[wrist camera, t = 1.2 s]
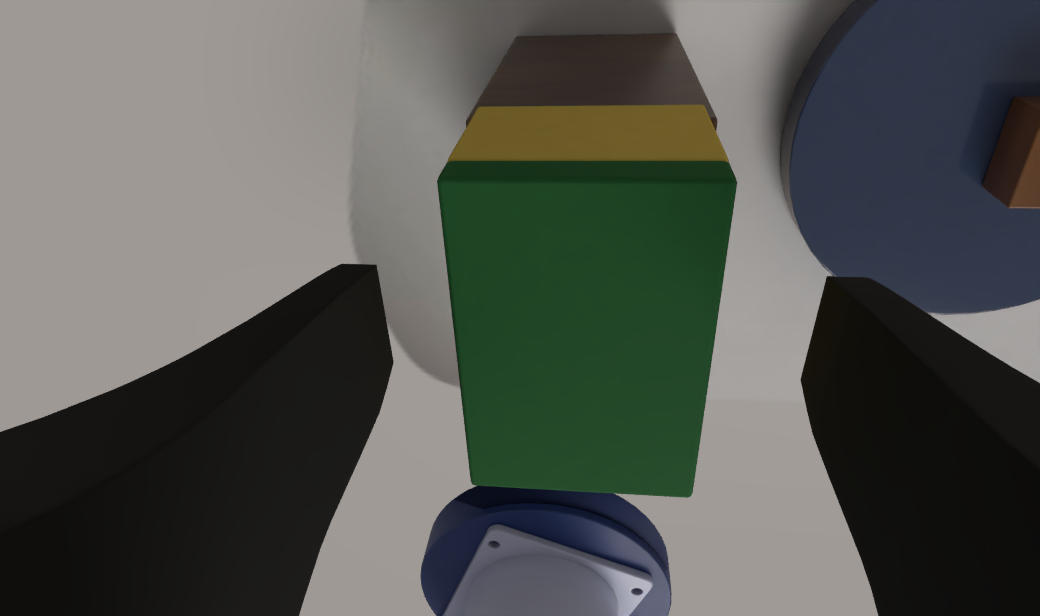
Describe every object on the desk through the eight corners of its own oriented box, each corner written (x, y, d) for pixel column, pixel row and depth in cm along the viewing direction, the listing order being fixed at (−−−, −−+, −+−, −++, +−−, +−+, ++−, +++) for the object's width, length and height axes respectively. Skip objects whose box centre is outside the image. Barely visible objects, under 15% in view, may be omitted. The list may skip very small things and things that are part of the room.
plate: (754, 291, 22) (761, 310, 21) (821, -89, 16) (834, -87, 15) (1112, 299, 21) (1137, 320, 20) (1322, -110, 15) (1372, -109, 14)
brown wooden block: (522, 214, 22) (485, 361, 15) (515, 36, 19) (464, 119, 12) (662, 215, 21) (687, 368, 14) (677, 32, 18) (718, 117, 12)
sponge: (496, 370, 15) (469, 487, 12) (477, 105, 12) (435, 177, 9) (675, 377, 15) (692, 499, 12) (705, 103, 11) (739, 178, 8)
